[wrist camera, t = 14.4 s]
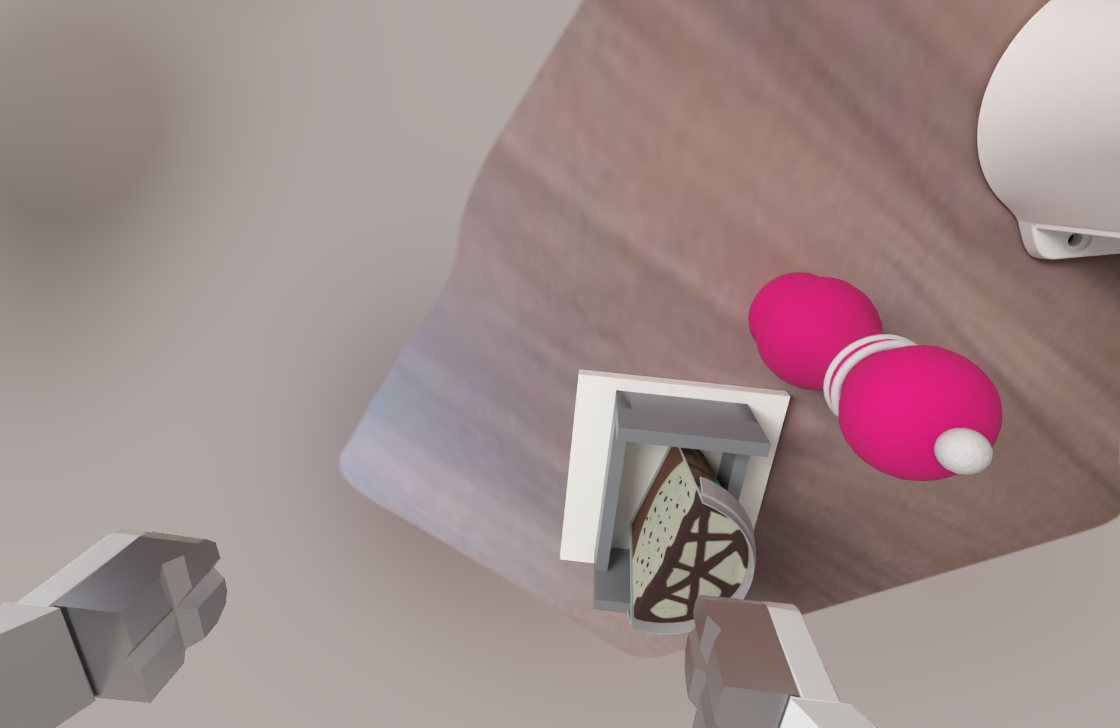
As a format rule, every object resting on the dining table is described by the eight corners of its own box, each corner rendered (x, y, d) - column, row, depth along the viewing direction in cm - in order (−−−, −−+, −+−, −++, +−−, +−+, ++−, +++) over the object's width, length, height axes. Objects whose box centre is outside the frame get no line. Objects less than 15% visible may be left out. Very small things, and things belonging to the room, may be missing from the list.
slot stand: (786, 391, 40) (821, 435, 33) (737, 572, 46) (759, 639, 40) (579, 369, 40) (574, 409, 34) (560, 551, 47) (553, 613, 40)
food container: (688, 559, 45) (711, 662, 36) (622, 536, 45) (628, 634, 35) (755, 444, 40) (800, 528, 31) (682, 418, 40) (706, 495, 31)
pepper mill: (849, 347, 38) (1084, 523, 19) (749, 371, 39) (881, 557, 21) (838, 252, 36) (1095, 349, 17) (733, 280, 37) (865, 399, 18)
